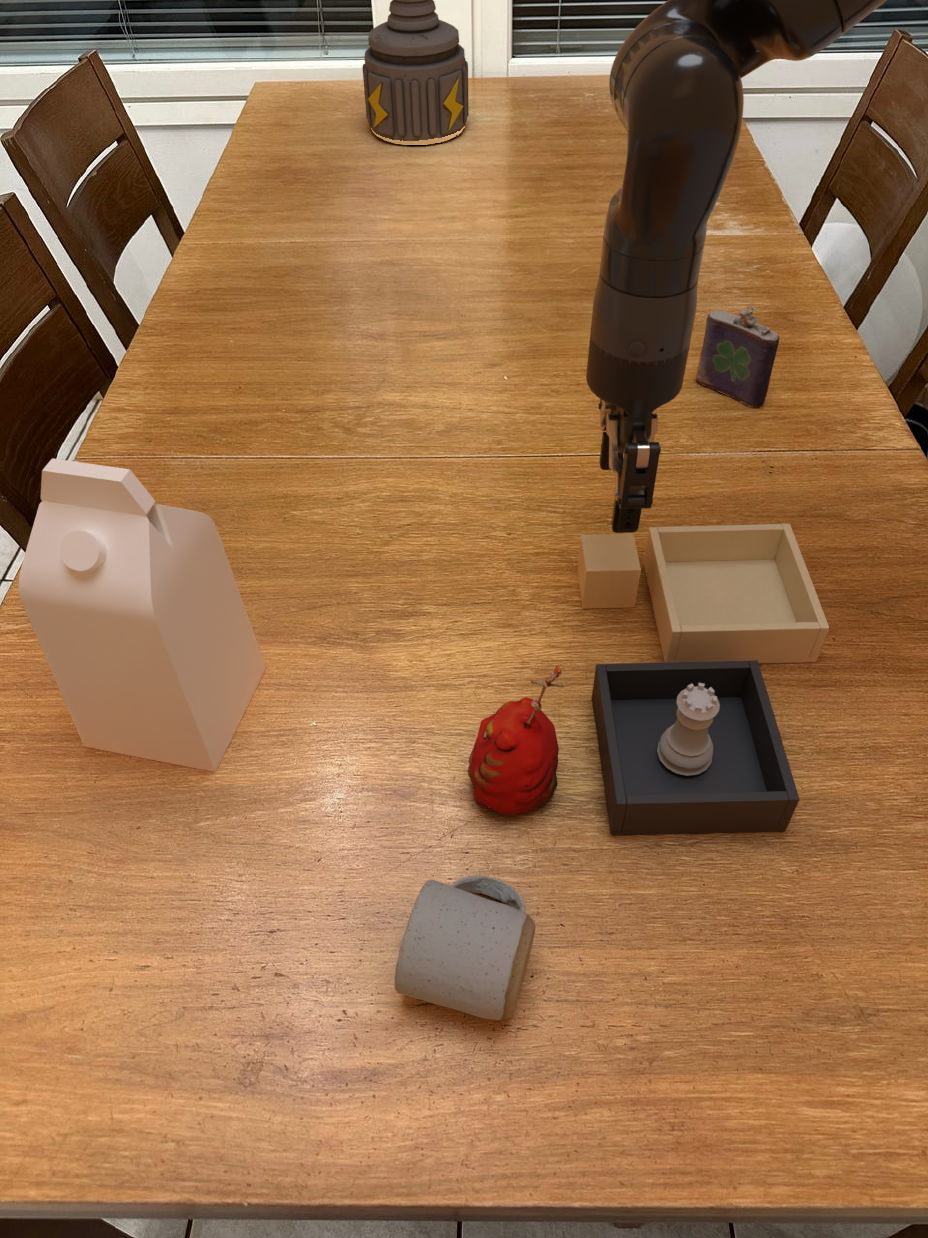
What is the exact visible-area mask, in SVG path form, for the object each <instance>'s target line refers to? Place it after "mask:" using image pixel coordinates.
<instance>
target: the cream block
mask: <svg viewBox="0 0 928 1238" xmlns="http://www.w3.org/2000/svg"><path fill="white" fill-rule="evenodd" d="M637 548H638V547H637V544H636V538H635V534H634V532H633V533H594V534H591V533H589V534H580V539H579V548H578V549H579V551H578V560H577V569H576V571H577V572H576V573H577V581H578V587H579V594H580V601H581V602H580V603H581V609H582V610H584V609H586V610H587V609H622V608H623V609H625V608H627V609H630V608H635V607H636V602H637V596H638V590H639V585H640V579H641V573H642V569H641V564H640V563H641V562H640V558H639V554H638V549H637Z"/></svg>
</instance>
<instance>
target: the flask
mask: <svg viewBox="0 0 928 1238" xmlns="http://www.w3.org/2000/svg"><path fill="white" fill-rule="evenodd" d="M754 311H755V312H756V311H757V308H756V307H755V306H748V305H747V306H746V308H745V309H743V310H738V315H736V314H733V313H730V312H727V311H723V310H712V311H710V312H709V313H708V315H707V317H706V320H705V321H706V324H705V325H706V326H705V329H704V335H703V336H704V337H703V340H702V347H701V350H700V356H699V360H698V361H699V362H698V366H697V370H696V374H695V381H696V380H697V381H696V382H697V383H698V384H700V385H701V384H703V385H704V386H707V388H709V387H710V388H709V389H711V388H712V389H711V390H713V389H715V390H716V391H719V392H721V393H724V394H726V395H727V397H731V399H732V398H735V399H737V400H736V401H738V400H739V403H740V404H744V405H745V406H747V407H749V408H752V409H753V408H754V409H755V408H756V409H758V408H757V407H760V406H762V405H763V404H765V401H766V398H767V395H768V391H769V385H770V381H771V376H772V372H773V368H774V364H775V360H776V356H777V352H778V348H779V343H780V335H779V334H778V332H776V331H773V330H772V328H770V327H768V326H766V325H762V324H760V323H759V319H757V317H756V316H753V314H754ZM703 385H702V386H703ZM704 386H703V387H704ZM716 391H715V392H716ZM721 395H722V396H724V395H723V394H721ZM735 399H734V400H735ZM763 406H764V405H763ZM763 406H762V407H763ZM760 408H761V407H760Z"/></svg>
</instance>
